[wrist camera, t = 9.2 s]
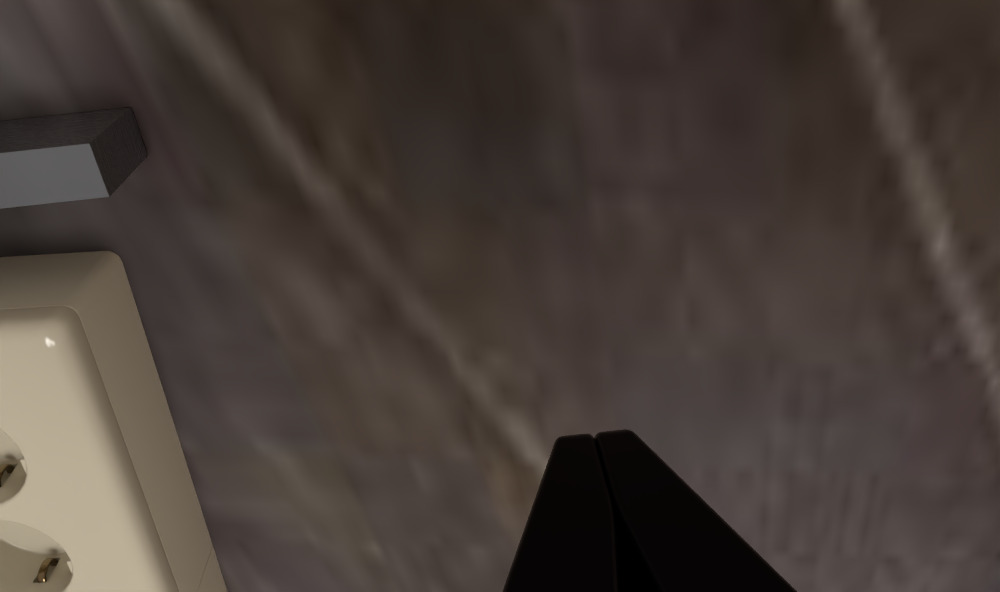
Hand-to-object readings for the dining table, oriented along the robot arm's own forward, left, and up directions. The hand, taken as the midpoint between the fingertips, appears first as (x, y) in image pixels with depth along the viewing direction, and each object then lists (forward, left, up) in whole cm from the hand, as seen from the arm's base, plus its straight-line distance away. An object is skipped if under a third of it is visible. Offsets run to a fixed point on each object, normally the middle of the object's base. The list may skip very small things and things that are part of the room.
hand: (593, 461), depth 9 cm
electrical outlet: (-11, +15, -13) cm, 22 cm away
